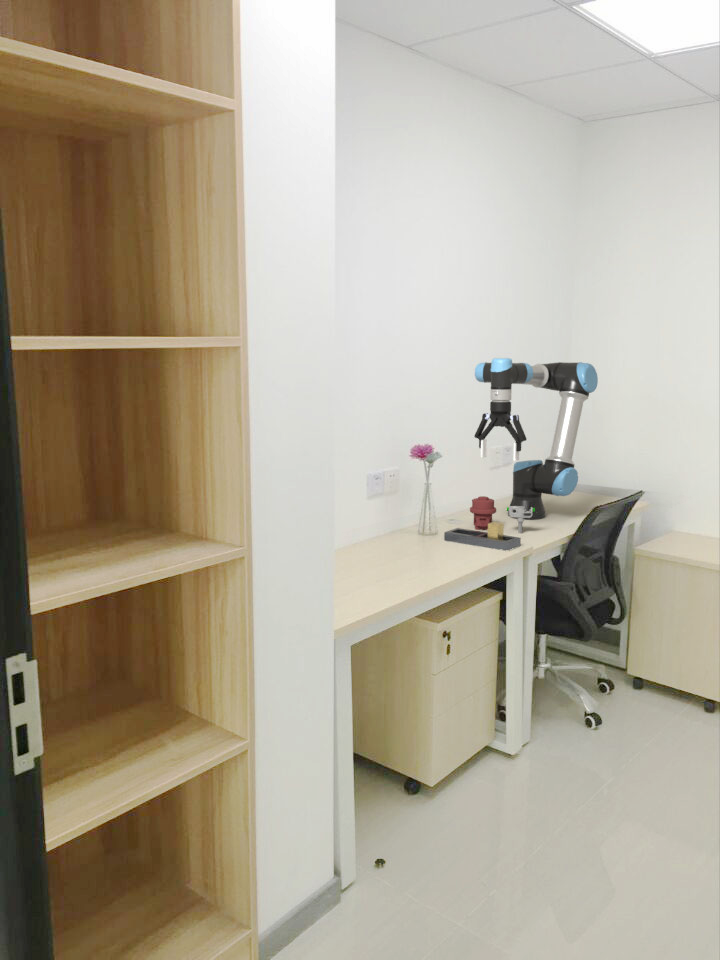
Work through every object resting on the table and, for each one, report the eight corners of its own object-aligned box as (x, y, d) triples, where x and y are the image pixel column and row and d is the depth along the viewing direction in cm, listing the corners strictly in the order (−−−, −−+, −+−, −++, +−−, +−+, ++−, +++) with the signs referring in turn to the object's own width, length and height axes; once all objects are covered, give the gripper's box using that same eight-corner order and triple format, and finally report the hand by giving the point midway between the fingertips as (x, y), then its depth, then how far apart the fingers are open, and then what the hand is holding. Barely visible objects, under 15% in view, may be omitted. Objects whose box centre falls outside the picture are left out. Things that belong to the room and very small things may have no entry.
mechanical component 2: (500, 530, 321) (477, 532, 317) (487, 525, 330) (465, 527, 326) (501, 498, 319) (478, 500, 315) (488, 494, 328) (465, 496, 324)
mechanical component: (533, 534, 313) (534, 508, 312) (506, 533, 315) (506, 507, 314) (533, 532, 316) (534, 506, 314) (506, 531, 318) (507, 505, 316)
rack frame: (457, 535, 311) (457, 527, 311) (520, 545, 295) (520, 537, 295) (444, 540, 304) (444, 532, 304) (507, 550, 288) (508, 542, 288)
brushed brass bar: (493, 543, 299) (493, 521, 298) (503, 545, 296) (503, 523, 295) (487, 545, 296) (487, 523, 295) (497, 547, 293) (497, 525, 292)
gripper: (465, 400, 309) (465, 457, 313) (526, 402, 294) (525, 462, 297) (476, 399, 315) (475, 455, 319) (536, 401, 300) (535, 460, 303)
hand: (499, 458), depth 308 cm, fingers open, 13 cm apart
